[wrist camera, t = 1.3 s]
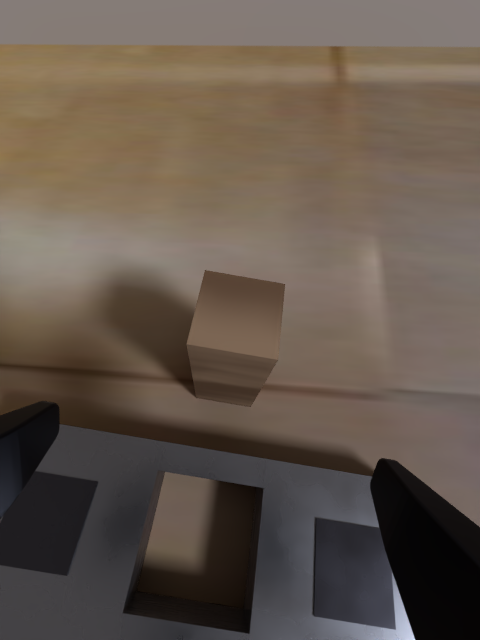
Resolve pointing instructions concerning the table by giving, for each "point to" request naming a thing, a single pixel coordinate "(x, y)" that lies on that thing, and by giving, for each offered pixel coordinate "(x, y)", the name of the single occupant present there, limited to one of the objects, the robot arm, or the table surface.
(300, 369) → the table surface
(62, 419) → the table surface
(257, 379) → the walnut peg
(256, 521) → the grey slotted board
